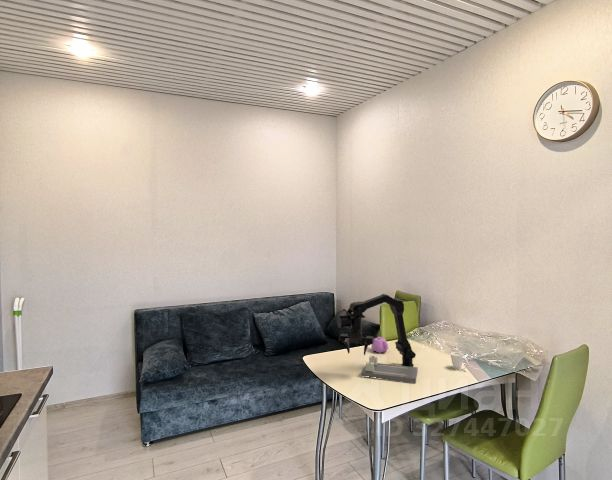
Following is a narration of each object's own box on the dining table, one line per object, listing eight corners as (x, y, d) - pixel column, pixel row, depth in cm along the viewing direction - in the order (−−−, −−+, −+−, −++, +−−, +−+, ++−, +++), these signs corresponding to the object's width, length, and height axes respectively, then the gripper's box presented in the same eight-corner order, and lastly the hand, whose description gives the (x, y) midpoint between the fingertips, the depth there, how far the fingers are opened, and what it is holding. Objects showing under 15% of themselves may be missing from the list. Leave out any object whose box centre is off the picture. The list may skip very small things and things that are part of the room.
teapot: (381, 355, 230) (381, 341, 230) (365, 349, 243) (364, 335, 243) (393, 352, 236) (392, 338, 236) (376, 346, 249) (376, 332, 248)
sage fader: (366, 368, 202) (366, 361, 202) (374, 369, 201) (374, 362, 200) (365, 371, 199) (365, 363, 199) (373, 371, 198) (373, 364, 198)
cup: (454, 364, 213) (454, 351, 213) (471, 369, 205) (471, 355, 205) (448, 367, 209) (447, 353, 208) (464, 373, 201) (464, 358, 200)
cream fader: (370, 362, 211) (370, 355, 211) (377, 363, 210) (377, 356, 210) (369, 364, 208) (369, 357, 208) (376, 365, 207) (376, 358, 207)
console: (367, 366, 214) (367, 361, 213) (417, 371, 204) (417, 367, 204) (361, 376, 199) (361, 372, 198) (415, 383, 189) (415, 378, 189)
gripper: (335, 328, 197) (336, 357, 198) (370, 331, 191) (371, 361, 191) (341, 323, 208) (341, 350, 208) (374, 325, 201) (374, 354, 202)
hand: (356, 354), depth 202 cm, fingers open, 8 cm apart
